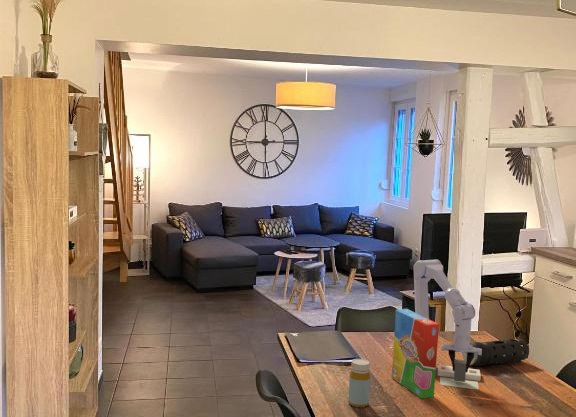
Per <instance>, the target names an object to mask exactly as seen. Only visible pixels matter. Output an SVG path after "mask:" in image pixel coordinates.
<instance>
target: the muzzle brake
mask: <svg viewBox="0 0 576 417" xmlns="http://www.w3.org/2000/svg"><path fill="white" fill-rule="evenodd" d="M470 347H474V348H480V349H482V354H481V355H478V354H474V358H473V360H472V361H471V363H470V365H469V366H473V367H480V366H488V365H492V364H498V365H500V364H504V365H505V364H511V363H519V362H521V361H524V360H526V359H528V358H529V355H530V347H529V345H528V342H526V340H525V339H523V338H520V337H519V338H511V339H510V338H508V339H501V340H492V341H481V342H480V341H474V342H470ZM461 354H462V358H463V359H462V360H465V361H466V359H467V353H463V352H461Z"/></svg>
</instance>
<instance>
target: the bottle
mask: <svg viewBox="0 0 576 417" xmlns="http://www.w3.org/2000/svg"><path fill="white" fill-rule="evenodd" d="M350 365H351V368H350V369H351V370H350V373H349V383H348V400H347V401H348V404H349V405H350V406H351V405H352V406H351V407H353V406H355V407H354V408H358V407H363V408H366V407H367V406H369V403H370V389H371V373H370V369H371V368H370V365H371V362H370V361H369V360H368V359H364V358H354V359H352V360H351V364H350ZM365 406H366V407H365Z"/></svg>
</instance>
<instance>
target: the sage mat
mask: <svg viewBox="0 0 576 417" xmlns="http://www.w3.org/2000/svg"><path fill="white" fill-rule="evenodd" d="M439 378H440V379H439V385H441V386H444V387H445V386H447V387H454V388H463V389H470V390H478V391H479V390H480V388H479V381H476V380H468V379H465V382H460V381H454V378H452V377H444V376H439Z"/></svg>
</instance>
